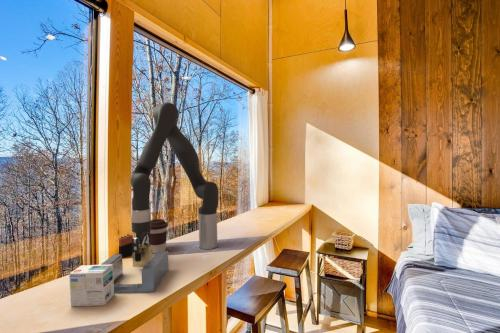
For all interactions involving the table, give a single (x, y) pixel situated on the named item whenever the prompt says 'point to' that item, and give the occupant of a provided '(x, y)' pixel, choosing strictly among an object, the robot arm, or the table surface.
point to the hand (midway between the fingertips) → (142, 257)
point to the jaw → (115, 265)
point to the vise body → (148, 275)
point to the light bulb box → (91, 285)
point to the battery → (125, 245)
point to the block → (143, 256)
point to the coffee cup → (158, 235)
